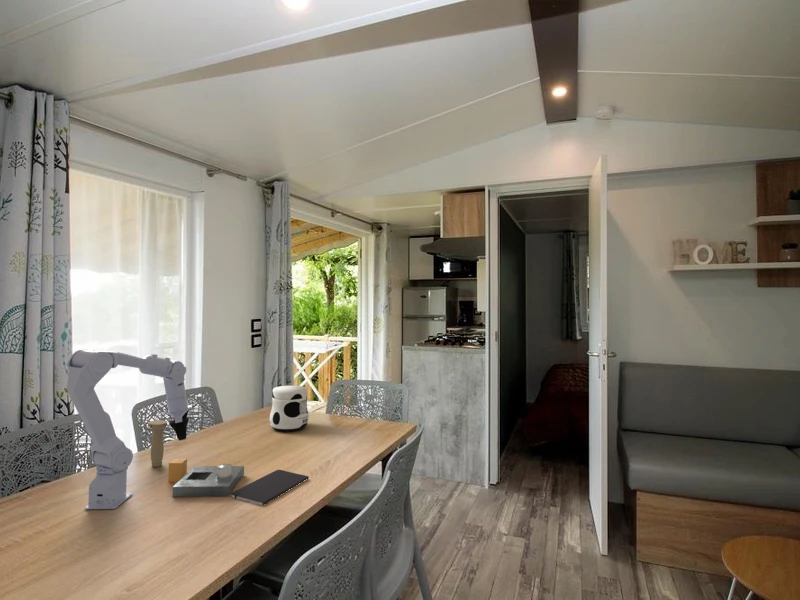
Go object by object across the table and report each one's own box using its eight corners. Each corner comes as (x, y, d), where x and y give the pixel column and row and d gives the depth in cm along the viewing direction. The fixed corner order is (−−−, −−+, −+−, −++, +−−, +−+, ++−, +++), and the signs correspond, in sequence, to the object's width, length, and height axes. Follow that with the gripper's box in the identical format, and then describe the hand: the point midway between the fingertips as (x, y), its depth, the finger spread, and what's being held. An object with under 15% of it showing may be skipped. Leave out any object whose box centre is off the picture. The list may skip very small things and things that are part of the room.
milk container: (269, 424, 206) (269, 385, 206) (306, 421, 211) (307, 384, 211) (269, 434, 189) (270, 393, 190) (310, 432, 195) (311, 391, 195)
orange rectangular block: (181, 482, 139) (181, 463, 139) (168, 482, 138) (168, 463, 138) (186, 477, 143) (187, 458, 143) (173, 477, 142) (174, 458, 142)
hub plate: (228, 496, 129) (229, 476, 129) (172, 497, 128) (172, 476, 128) (243, 475, 145) (244, 457, 145) (194, 475, 144) (194, 457, 144)
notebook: (262, 508, 124) (308, 481, 143) (262, 502, 124) (308, 476, 143) (229, 498, 129) (277, 473, 148) (229, 493, 129) (278, 469, 148)
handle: (156, 469, 148) (157, 425, 148) (144, 466, 151) (145, 422, 151) (169, 465, 153) (170, 421, 153) (156, 461, 155) (157, 419, 155)
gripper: (189, 400, 138) (196, 440, 141) (189, 386, 151) (195, 423, 154) (164, 405, 135) (171, 446, 138) (166, 391, 148) (173, 428, 151)
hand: (182, 434), depth 146 cm, fingers open, 7 cm apart
